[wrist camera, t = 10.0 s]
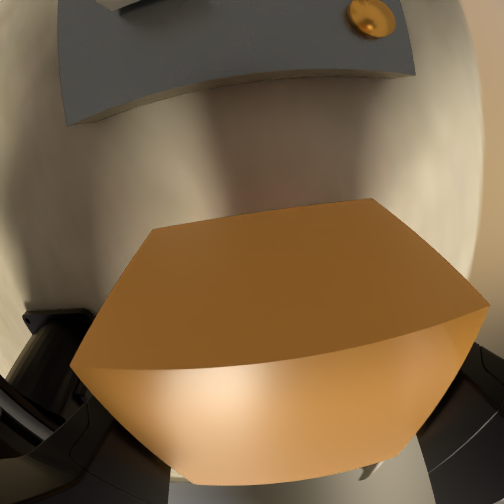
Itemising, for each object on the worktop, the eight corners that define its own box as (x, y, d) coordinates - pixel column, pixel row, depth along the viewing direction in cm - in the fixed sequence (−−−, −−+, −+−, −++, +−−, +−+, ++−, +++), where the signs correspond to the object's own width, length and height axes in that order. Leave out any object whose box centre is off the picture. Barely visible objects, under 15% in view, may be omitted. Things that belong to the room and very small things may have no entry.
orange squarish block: (205, 371, 10) (194, 484, 6) (152, 229, 7) (69, 365, 3) (358, 350, 10) (396, 456, 6) (372, 198, 7) (490, 305, 3)
